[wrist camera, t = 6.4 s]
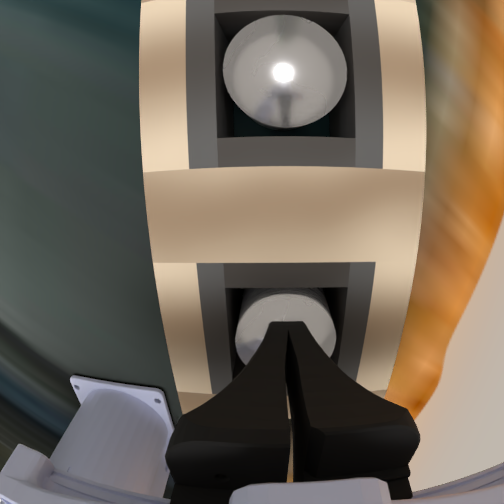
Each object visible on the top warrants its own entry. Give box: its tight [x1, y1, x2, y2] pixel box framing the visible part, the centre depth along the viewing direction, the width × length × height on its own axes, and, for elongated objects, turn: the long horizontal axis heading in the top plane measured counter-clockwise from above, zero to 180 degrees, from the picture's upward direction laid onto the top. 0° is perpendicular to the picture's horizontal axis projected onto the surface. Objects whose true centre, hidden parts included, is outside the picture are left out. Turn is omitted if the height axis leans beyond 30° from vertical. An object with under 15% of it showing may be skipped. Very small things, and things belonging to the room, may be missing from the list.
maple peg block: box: [139, 0, 426, 419], centre depth 13 cm, size 20×10×5 cm, turn 1°
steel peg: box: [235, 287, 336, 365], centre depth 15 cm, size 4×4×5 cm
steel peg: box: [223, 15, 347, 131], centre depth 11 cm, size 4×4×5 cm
